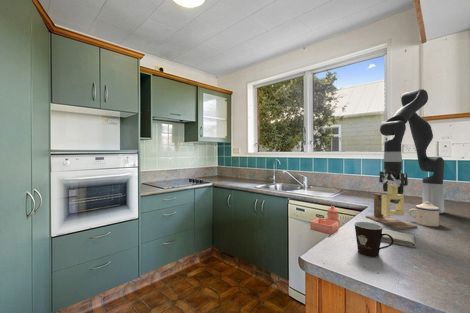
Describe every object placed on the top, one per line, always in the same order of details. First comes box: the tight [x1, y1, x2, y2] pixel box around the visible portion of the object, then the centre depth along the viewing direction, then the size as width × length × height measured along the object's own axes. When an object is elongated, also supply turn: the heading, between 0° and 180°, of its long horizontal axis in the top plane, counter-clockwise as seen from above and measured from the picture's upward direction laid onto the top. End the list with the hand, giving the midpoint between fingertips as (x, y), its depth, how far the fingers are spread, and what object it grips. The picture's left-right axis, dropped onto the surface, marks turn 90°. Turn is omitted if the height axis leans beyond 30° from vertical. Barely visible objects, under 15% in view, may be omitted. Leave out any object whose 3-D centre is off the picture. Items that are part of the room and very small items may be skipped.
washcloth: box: [381, 228, 416, 248], centre depth 93 cm, size 12×18×3 cm, turn 52°
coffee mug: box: [354, 221, 395, 258], centre depth 77 cm, size 12×9×10 cm
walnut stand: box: [365, 192, 418, 230], centre depth 113 cm, size 20×11×14 cm, turn 9°
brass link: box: [382, 184, 405, 217], centre depth 111 cm, size 10×3×15 cm, turn 99°
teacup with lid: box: [408, 202, 440, 227], centre depth 111 cm, size 12×9×12 cm
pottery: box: [309, 205, 341, 236], centre depth 106 cm, size 18×10×10 cm, turn 135°
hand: (392, 192), depth 111 cm, fingers open, 8 cm apart
